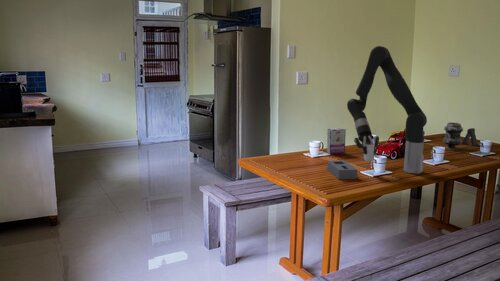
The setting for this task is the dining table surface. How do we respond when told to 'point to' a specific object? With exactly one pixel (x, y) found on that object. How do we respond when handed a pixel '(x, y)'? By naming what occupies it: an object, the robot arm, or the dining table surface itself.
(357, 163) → the dining table surface
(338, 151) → the candy bar box
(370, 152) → the gray rectangular block
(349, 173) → the bore block
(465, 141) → the dark grey arch
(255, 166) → the dining table surface
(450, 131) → the dark grey tall lump
